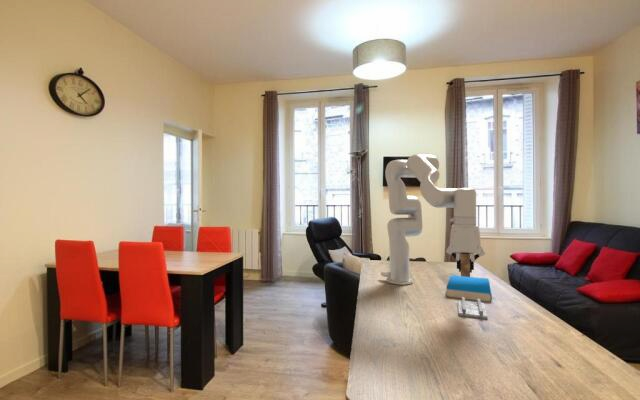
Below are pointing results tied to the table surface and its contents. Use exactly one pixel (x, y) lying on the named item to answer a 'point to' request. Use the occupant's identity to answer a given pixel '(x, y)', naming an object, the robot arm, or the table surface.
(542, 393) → the table surface
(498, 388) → the table surface
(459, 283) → the book
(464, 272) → the door panel
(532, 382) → the table surface
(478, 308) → the floor track
